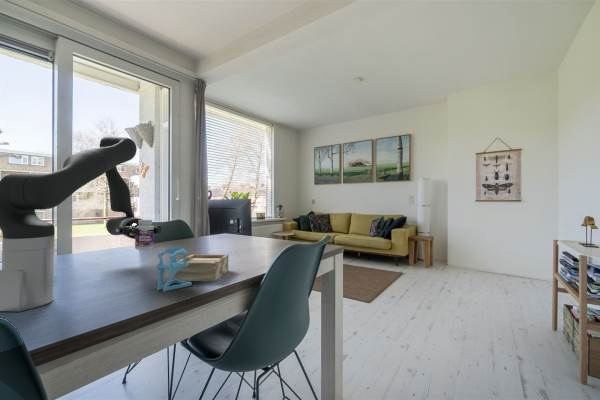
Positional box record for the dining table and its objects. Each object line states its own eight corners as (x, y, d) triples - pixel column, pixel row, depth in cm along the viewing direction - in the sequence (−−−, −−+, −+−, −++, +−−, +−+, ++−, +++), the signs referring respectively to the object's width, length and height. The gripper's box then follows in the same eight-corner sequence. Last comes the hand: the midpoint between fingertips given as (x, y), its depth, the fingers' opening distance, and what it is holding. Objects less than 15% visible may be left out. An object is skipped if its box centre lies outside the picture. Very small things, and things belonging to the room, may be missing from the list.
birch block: (215, 281, 87) (215, 263, 87) (173, 280, 87) (174, 262, 87) (228, 270, 101) (228, 254, 101) (192, 269, 101) (192, 254, 101)
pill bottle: (139, 250, 84) (139, 220, 84) (132, 248, 87) (132, 219, 87) (156, 248, 88) (157, 219, 88) (149, 246, 91) (150, 219, 91)
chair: (151, 289, 79) (152, 249, 79) (175, 281, 86) (175, 245, 86) (169, 293, 75) (169, 251, 75) (192, 285, 83) (192, 247, 83)
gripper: (110, 218, 93) (121, 220, 81) (154, 217, 103) (170, 219, 91) (109, 239, 92) (121, 244, 81) (153, 236, 103) (170, 240, 91)
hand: (147, 231), depth 86 cm, fingers closed on pill bottle, 5 cm apart
